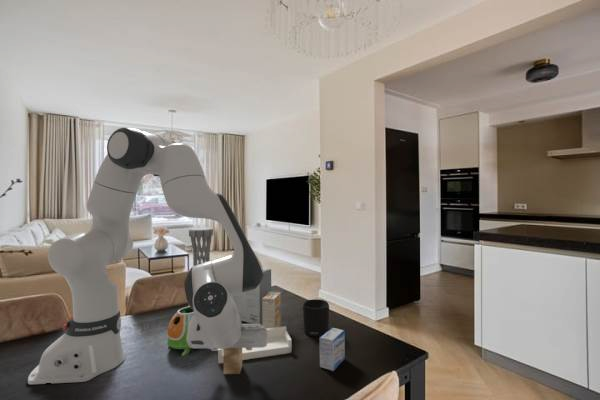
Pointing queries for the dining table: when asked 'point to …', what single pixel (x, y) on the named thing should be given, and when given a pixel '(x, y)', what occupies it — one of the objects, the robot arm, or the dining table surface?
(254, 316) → the hard drive box
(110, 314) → the robot arm
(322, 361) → the medicine box
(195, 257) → the vase
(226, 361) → the oak blank
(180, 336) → the turtle holder
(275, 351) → the cream shelf
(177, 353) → the dining table surface
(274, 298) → the supplement box
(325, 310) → the pen holder
